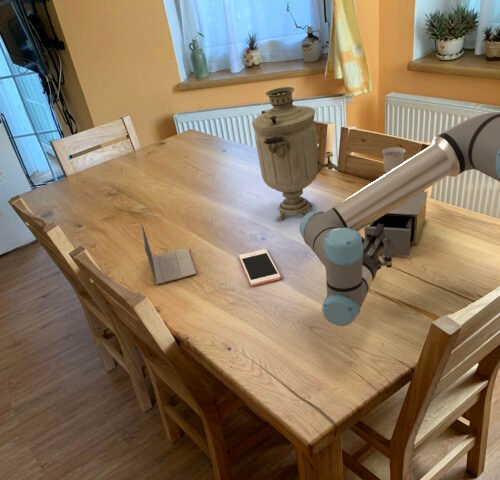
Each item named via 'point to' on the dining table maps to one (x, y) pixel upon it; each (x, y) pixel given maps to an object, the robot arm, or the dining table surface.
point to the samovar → (288, 150)
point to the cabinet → (413, 212)
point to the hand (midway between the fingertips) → (380, 228)
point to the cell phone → (259, 267)
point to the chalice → (392, 158)
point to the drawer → (395, 233)
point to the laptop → (169, 263)
